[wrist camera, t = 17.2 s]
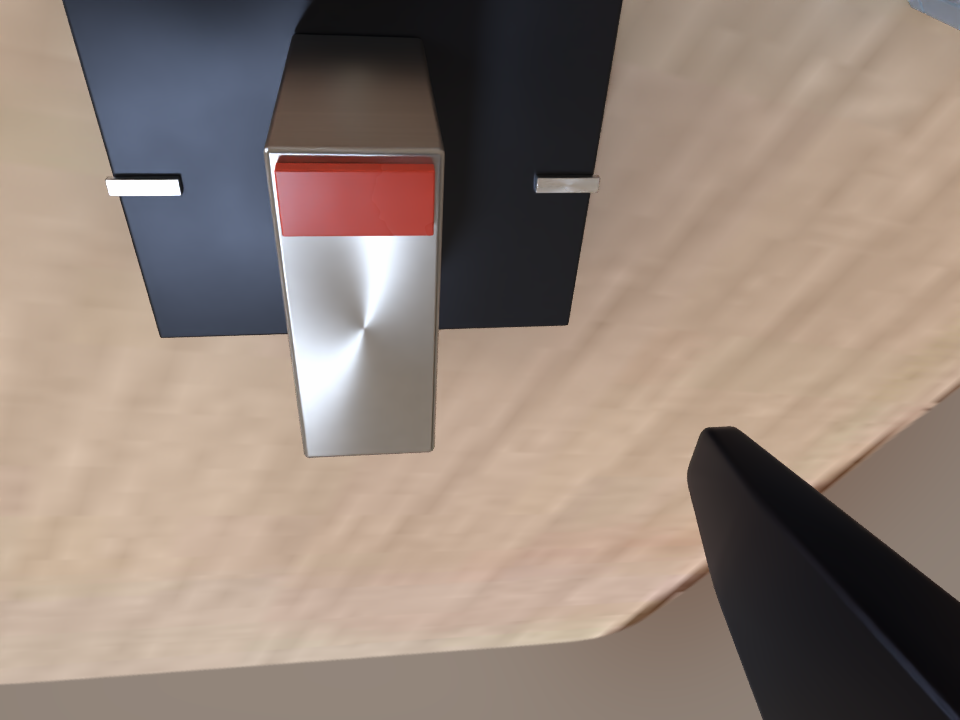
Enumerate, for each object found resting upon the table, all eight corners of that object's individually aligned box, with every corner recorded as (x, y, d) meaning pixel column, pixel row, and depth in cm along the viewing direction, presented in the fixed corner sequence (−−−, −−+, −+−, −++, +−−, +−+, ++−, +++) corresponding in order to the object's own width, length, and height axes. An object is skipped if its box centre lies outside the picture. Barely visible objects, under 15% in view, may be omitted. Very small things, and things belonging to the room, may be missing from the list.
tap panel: (184, 314, 20) (164, 378, 18) (69, -135, 13) (15, -114, 11) (548, 304, 21) (568, 363, 19) (607, -108, 15) (646, -85, 13)
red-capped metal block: (419, 300, 17) (435, 463, 13) (317, 301, 17) (302, 470, 13) (422, 36, 13) (447, 156, 10) (290, 32, 13) (259, 155, 9)
